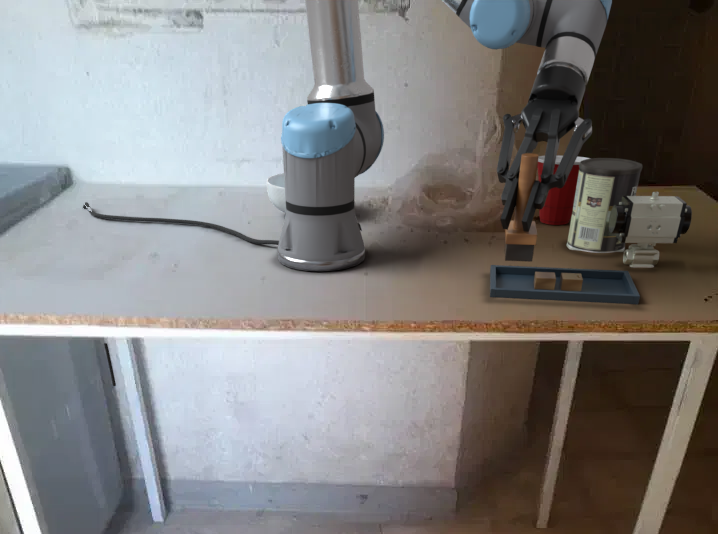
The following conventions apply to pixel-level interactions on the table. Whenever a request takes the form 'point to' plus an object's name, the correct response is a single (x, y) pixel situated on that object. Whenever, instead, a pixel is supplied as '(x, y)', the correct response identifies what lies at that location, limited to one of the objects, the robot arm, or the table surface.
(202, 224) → the robot arm
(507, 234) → the brush
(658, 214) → the pneumatic valve
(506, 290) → the tray
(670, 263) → the table surface
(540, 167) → the plastic cup
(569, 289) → the small wooden block
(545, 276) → the brown wooden block
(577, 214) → the coffee can
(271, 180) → the cereal bowl
